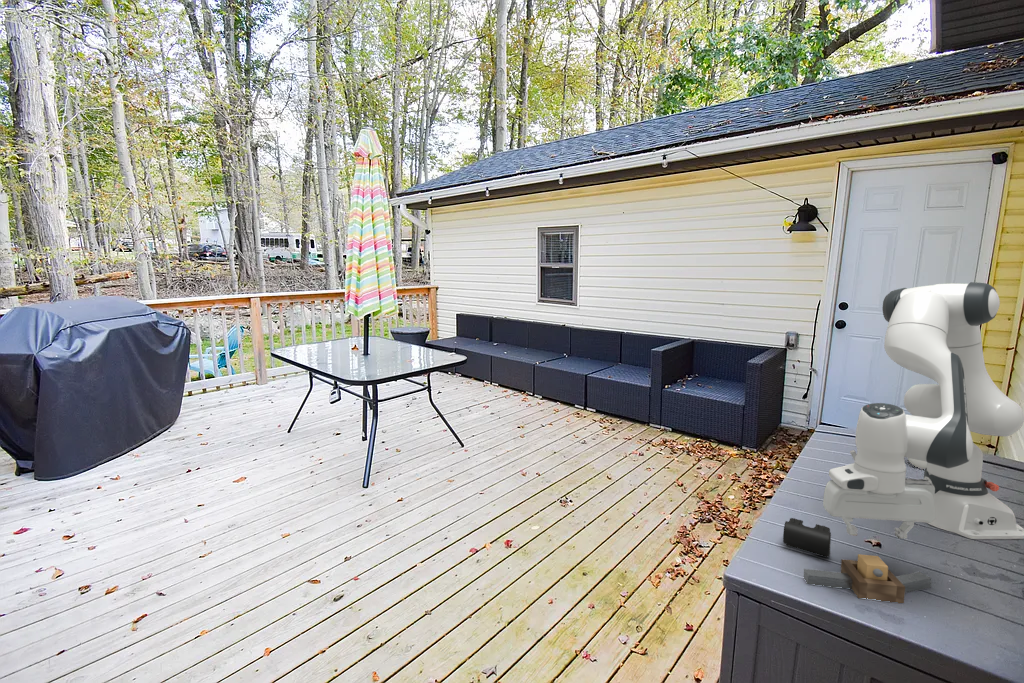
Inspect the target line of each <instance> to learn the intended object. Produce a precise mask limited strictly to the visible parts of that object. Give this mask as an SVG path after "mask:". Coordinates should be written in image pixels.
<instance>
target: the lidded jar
mask: <svg viewBox="0 0 1024 683" xmlns="http://www.w3.org/2000/svg"><path fill="white" fill-rule="evenodd" d="M907 460H908V462H909V463H910V464H911V465H912V466H913V465H914V466H915V467H914V466H913V467H914V468H916V467H918V468H917V469H919V468H921V469H920V470H923V469H926V468H927V462H926V461H921V460H917V459H912V458H907Z"/></svg>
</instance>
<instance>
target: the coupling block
mask: <svg viewBox="0 0 1024 683" xmlns="http://www.w3.org/2000/svg"><path fill="white" fill-rule="evenodd" d="M857 561H858V563H857V571H858V572H859V573H860V574H861V576H862V577H863V578H864V579H873V580H883V581H887V576H888V569H889V566H888V565H887V564H886V562H884V561H883V560H882V559H881V557H879V555H870V554H857Z"/></svg>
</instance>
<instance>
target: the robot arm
mask: <svg viewBox="0 0 1024 683" xmlns="http://www.w3.org/2000/svg"><path fill="white" fill-rule="evenodd" d="M996 290H997V289H996V288H995V287H994V286H992V285H991V284H989V283H985V282H976V281H975V282H974V281H973V282H972V281H971V282H969V283H957V282H956V283H951V282H949V283H936V284H931V285H929V284H928V285H922V286H916V287H915V286H913V287H910V288H907V287H903V288H898V289H897V288H896V289H894V290H892V291H889V293H888V294H886V295H885V296H884V298H883V301H882V307H881V308H882V315H883V318H884V320H885V321H886V322H887V323H888V324H887V327H886V331H885V336H884V343H883V344H884V352H885V354H886V355H887V356H888V358H889V359H890V360H892V361H893V363H896V364H897V365H898V366H900V367H902V368H904V369H906V370H908V371H911V372H914V373H917V374H919V375H922V376H924V377H926V378H929V380H932V381H934V382H935V383H917V384H914V385H911V387H909V388H908V389H907V391H906V392H905V394H904V396H903V404H904V408H905V409H906V411H907V412H908V413H910V414H906V412H905V410H904V409H903V408H902V407H900V406H897V405H895V404H890V403H886V402H885V403H884V402H873V403H868V404H865V405H864V406H862V407H861V408H860V411H859V414H858V419H857V423H856V430H855V440H854V441H855V446H856V457H855V461H854V460H853V461H854V462H853V463H849V464H846V465H843V466H837V467H833V468H830V469H829V471H828V476H829V477H830V480H829V481H828V482H826V485H825V488H824V492H823V493H824V494H823V503H822V504H823V508H824V510H825V511H826V512H827V513H828V514H829V516H831V517H834V518H841V519H842V521H843V522H844V523H845V526H846V533H847V534H848V535H849V536H858V532H859V530H858V527H856V526H855V525H854V524H852V523H853V522H854V519H862V520H863V519H865V520H866V519H867V520H878V521H879V520H880V521H881V520H882V521H896V522H902V523H901V524H900V525H899V527H894V536H895V537H896V538H897V539H900V540H903V539H904V540H907V538H908V533H909V532H910V531H911V530H912V528H914V527H915V523H926V524H929V525H931V526H932V527H935V528H938V529H940V530H944V531H947V532H950V533H954V534H958V535H960V536H963V537H965V538H967V539H972V540H1024V528H1023V527H1022V526H1020V525H1019V524H1018V523H1017V520H1016V515H1015V513H1014V511H1013V510H1012V508H1011V507H1009V506H1008V505H1007V504H1005V502H1003V501H1001V500H1000V499H998V498H997V497H996V496H994V495H993V494H991V493H990V492H989V490H991V492H998V491H999V490H1000V485H998V484H996V483H994V482H992V481H987V480H986V479H984V478H982V474H983V473H982V472H983V465H984V464H983V463H984V462H983V460H984V453H983V451H982V450H981V448H980V447H979V446H978V445H977V444H975V443H974V441H973V437H972V433H975V434H979V435H985V436H995V437H1009V436H1011V435H1014V434H1016V433H1017V432H1018V431H1019V430H1020V429H1022V426H1023V425H1024V410H1023V408H1022V407H1021V406H1020V404H1018V403H1017V402H1016V401H1015V400H1013V399H1011V398H1010V397H1008V395H1006V394H1005V393H1004V392H1003V391H1002V390H1001V389H1000V388H999V387H998V386H997V385H996V384H995V382H994V380H993V379H992V378H991V376H990V374H989V373H988V370H987V367H986V364H985V358H984V357H985V356H984V351H983V350H984V349H983V339H982V332H981V327H980V326H981V325H985V324H987V323H989V322H991V321H992V320H994V319H995V318H996V316H997V313H998V312H999V309H1000V304H1001V301H1000V297H999V294H998V292H997V291H996ZM936 383H937V384H936ZM905 458H907V459H908V458H912V459H917V460H921V461H926V462H927V468H926V469H925V470H923V472H924V473H923V478H917V479H916V478H908V477H907V465H906V462H905ZM851 522H852V523H851Z"/></svg>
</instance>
